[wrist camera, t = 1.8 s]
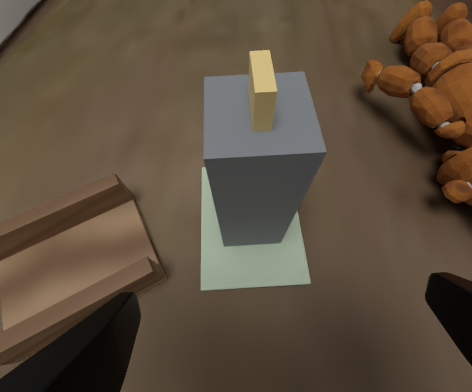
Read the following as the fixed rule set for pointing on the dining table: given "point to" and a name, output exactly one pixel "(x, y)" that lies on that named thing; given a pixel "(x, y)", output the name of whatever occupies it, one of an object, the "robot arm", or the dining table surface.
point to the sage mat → (248, 255)
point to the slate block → (259, 150)
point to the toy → (436, 85)
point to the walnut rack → (70, 263)
